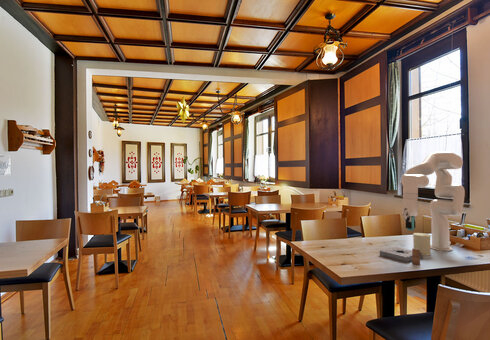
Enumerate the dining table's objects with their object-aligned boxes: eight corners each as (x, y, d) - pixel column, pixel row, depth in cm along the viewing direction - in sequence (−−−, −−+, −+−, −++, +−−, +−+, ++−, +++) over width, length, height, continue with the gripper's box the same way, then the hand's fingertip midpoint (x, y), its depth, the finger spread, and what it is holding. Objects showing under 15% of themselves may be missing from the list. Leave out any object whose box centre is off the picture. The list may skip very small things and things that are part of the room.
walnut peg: (414, 262, 159) (414, 248, 159) (421, 264, 156) (421, 249, 156) (411, 263, 157) (411, 249, 157) (417, 265, 154) (417, 250, 154)
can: (422, 256, 171) (422, 235, 171) (409, 251, 180) (409, 232, 180) (434, 254, 173) (434, 234, 173) (421, 250, 182) (421, 231, 182)
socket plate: (395, 251, 181) (395, 246, 181) (421, 257, 167) (421, 252, 167) (379, 255, 172) (379, 250, 172) (406, 262, 159) (406, 257, 159)
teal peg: (409, 229, 169) (409, 215, 169) (415, 230, 166) (415, 216, 166) (405, 229, 167) (405, 216, 167) (412, 230, 164) (412, 216, 164)
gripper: (410, 195, 175) (411, 225, 175) (396, 196, 166) (396, 228, 165) (424, 196, 168) (424, 227, 168) (409, 197, 159) (409, 230, 159)
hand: (410, 227), depth 167 cm, fingers closed on teal peg, 3 cm apart
